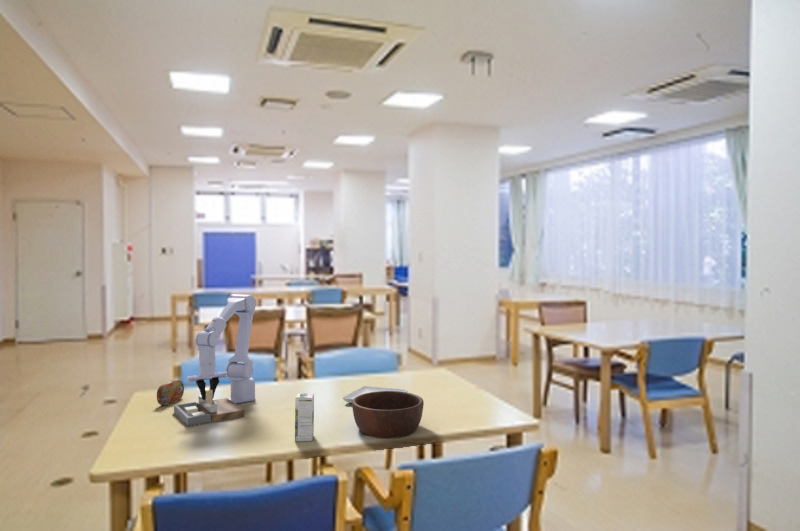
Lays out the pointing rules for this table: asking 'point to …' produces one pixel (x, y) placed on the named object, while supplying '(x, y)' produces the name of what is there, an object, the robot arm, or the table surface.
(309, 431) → the syrup box
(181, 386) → the tin
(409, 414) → the wooden bowl
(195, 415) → the tile
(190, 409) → the tile
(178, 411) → the box
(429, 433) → the table surface
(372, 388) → the salad plate
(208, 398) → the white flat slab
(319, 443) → the table surface
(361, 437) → the table surface
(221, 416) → the board
